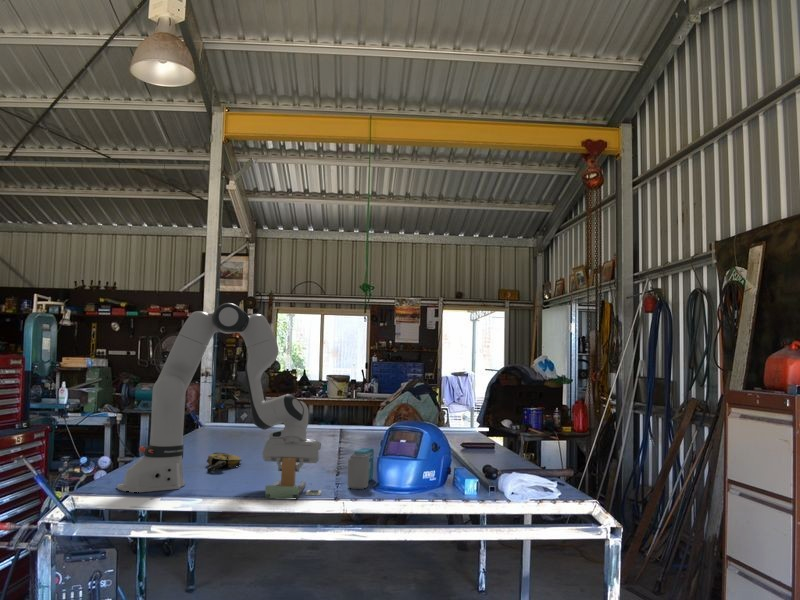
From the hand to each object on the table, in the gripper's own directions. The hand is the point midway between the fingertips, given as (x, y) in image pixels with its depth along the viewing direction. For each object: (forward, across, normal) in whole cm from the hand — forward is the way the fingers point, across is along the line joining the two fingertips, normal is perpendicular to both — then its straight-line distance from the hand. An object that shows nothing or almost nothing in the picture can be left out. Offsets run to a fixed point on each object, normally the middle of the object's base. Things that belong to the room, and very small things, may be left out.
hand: (288, 470), depth 236 cm
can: (+1, -25, -8) cm, 26 cm away
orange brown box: (+4, 0, -5) cm, 6 cm away
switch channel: (+8, -4, -1) cm, 9 cm away
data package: (-10, -26, -19) cm, 34 cm away
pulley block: (-25, +34, -36) cm, 55 cm away
